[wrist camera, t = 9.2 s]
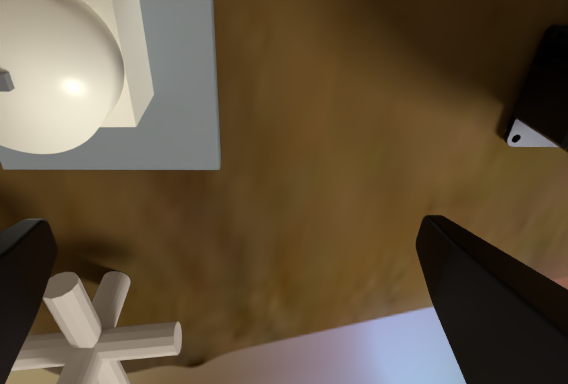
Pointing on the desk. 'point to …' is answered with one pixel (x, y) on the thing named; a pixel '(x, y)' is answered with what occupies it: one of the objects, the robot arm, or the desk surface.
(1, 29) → the knob
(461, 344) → the robot arm
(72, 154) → the panel
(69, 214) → the desk surface
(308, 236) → the desk surface
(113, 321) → the pipe connector
